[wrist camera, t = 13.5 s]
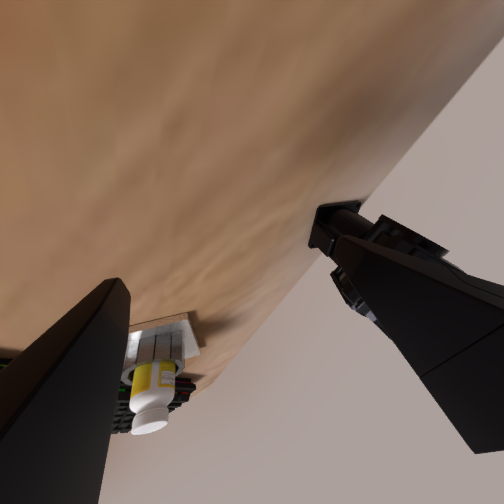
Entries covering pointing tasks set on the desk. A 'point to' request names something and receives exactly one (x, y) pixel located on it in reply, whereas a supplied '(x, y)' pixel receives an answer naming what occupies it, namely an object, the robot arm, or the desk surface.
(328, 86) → the desk surface
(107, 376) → the robot arm
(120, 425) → the keyboard
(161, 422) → the supplement bottle
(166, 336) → the cup bracket
